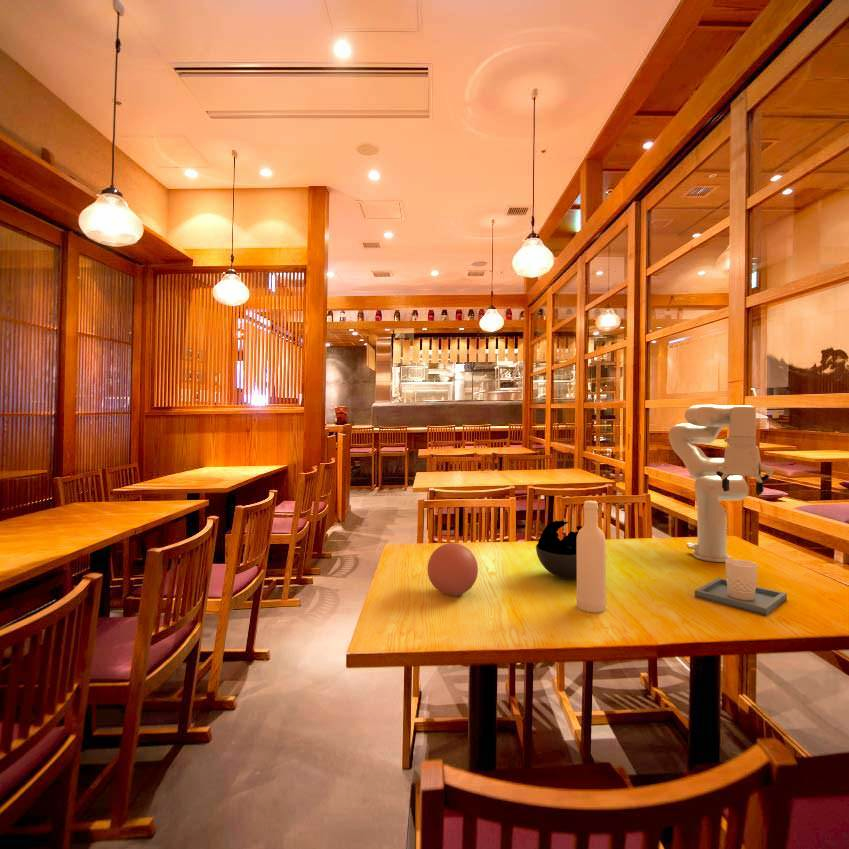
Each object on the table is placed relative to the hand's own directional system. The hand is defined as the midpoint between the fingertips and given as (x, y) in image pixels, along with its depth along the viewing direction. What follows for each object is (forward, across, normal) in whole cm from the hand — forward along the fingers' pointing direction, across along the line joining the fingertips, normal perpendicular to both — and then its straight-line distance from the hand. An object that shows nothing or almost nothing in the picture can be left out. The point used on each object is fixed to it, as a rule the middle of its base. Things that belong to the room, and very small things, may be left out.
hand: (742, 492), depth 161 cm
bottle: (+28, -17, -64) cm, 72 cm away
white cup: (+28, +7, -24) cm, 37 cm away
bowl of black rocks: (+28, -37, -47) cm, 66 cm away
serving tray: (+28, +7, -24) cm, 38 cm away
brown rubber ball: (+28, -52, -86) cm, 104 cm away
